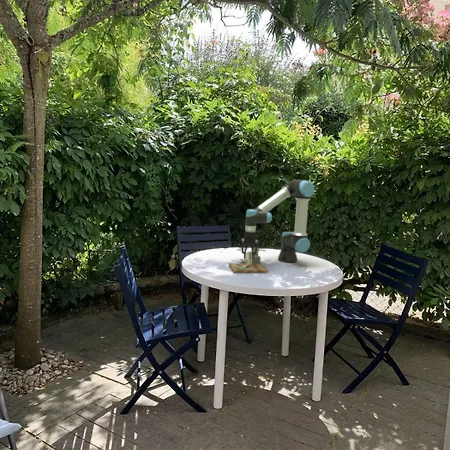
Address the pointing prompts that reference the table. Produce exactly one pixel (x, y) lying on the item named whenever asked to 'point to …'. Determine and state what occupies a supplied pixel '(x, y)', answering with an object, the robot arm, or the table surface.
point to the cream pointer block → (248, 258)
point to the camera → (256, 257)
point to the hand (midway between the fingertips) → (248, 263)
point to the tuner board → (247, 268)
